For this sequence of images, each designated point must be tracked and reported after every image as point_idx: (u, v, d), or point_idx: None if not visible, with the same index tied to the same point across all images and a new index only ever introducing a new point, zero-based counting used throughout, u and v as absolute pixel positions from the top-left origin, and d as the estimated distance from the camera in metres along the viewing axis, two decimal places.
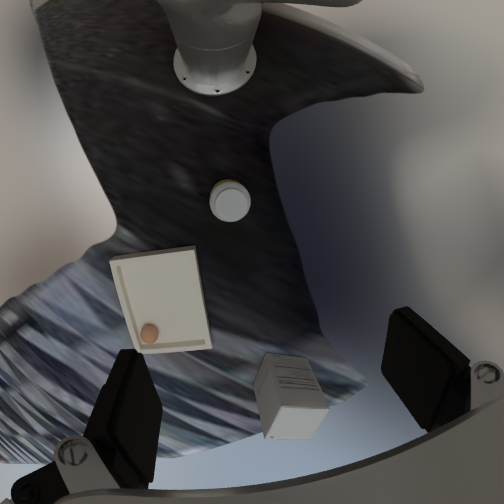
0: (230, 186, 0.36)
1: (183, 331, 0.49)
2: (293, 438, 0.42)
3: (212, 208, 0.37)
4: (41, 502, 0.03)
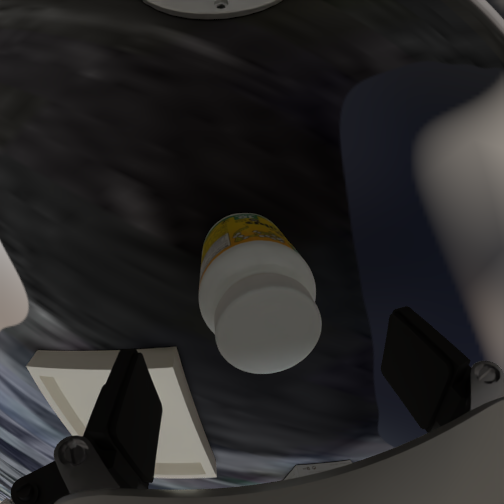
0: (262, 261, 0.12)
1: (169, 455, 0.25)
2: None
3: (207, 321, 0.12)
4: (41, 502, 0.03)
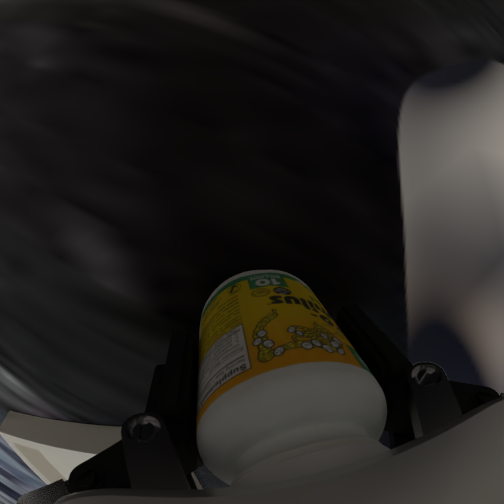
0: (315, 411, 0.05)
1: None
2: None
3: (213, 473, 0.06)
4: (107, 486, 0.04)
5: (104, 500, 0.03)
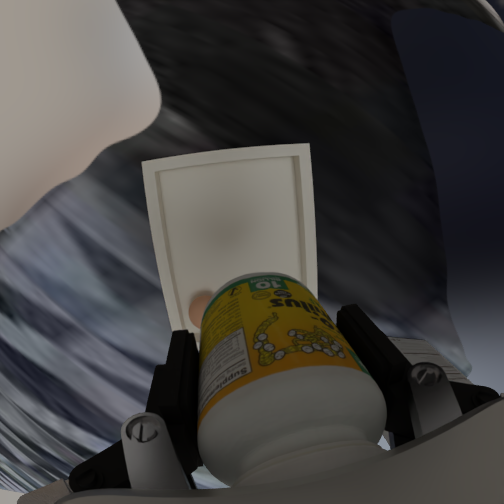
0: (315, 414, 0.05)
1: None
2: None
3: (214, 475, 0.06)
4: (107, 486, 0.04)
5: (104, 500, 0.03)
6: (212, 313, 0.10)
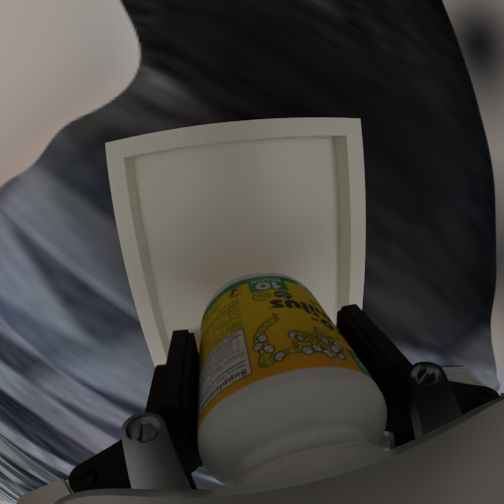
0: (316, 416, 0.05)
1: None
2: None
3: (214, 476, 0.06)
4: (107, 487, 0.04)
5: (104, 500, 0.03)
6: (212, 314, 0.10)
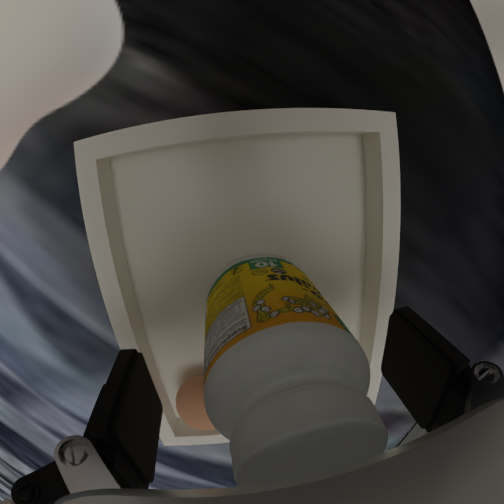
0: (304, 361, 0.07)
1: None
2: None
3: (218, 428, 0.08)
4: (41, 502, 0.03)
5: (104, 500, 0.03)
6: (217, 289, 0.12)
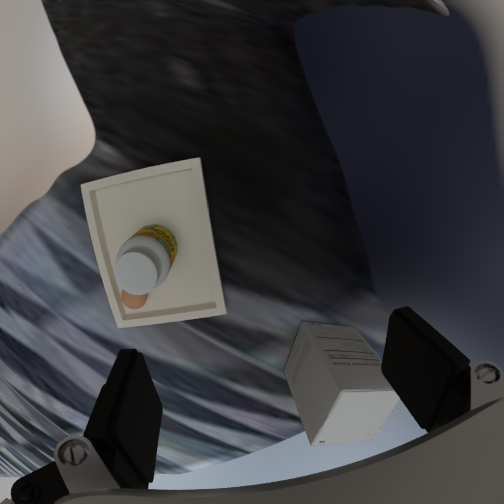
0: (137, 244, 0.25)
1: (183, 291, 0.34)
2: (351, 440, 0.27)
3: None
4: (41, 502, 0.03)
5: (104, 500, 0.03)
6: None
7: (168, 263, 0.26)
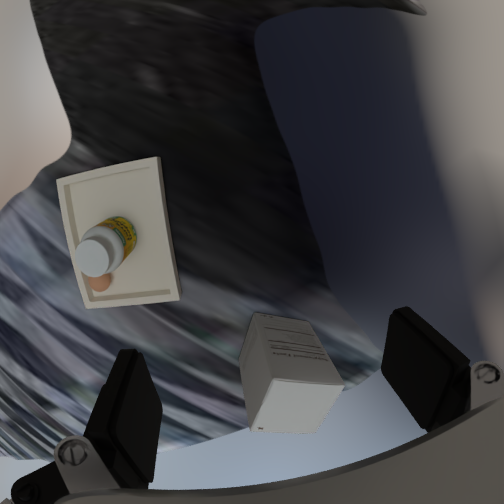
0: (96, 233, 0.27)
1: (143, 277, 0.37)
2: (292, 431, 0.30)
3: None
4: (41, 502, 0.03)
5: (104, 500, 0.03)
6: None
7: (121, 250, 0.28)
